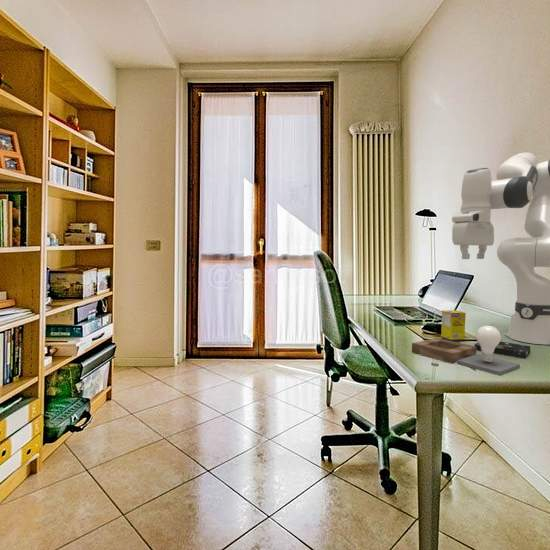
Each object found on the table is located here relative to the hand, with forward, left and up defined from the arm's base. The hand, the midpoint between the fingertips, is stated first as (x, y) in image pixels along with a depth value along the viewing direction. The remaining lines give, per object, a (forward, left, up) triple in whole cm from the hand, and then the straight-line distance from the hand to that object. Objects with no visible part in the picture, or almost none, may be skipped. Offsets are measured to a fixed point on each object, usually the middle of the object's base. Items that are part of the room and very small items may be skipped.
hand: (473, 259), depth 121 cm
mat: (+12, +12, -31) cm, 35 cm away
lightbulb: (+12, +12, -30) cm, 35 cm away
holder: (+12, -2, -31) cm, 33 cm away
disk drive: (-8, +7, -32) cm, 34 cm away
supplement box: (-9, -11, -31) cm, 34 cm away
